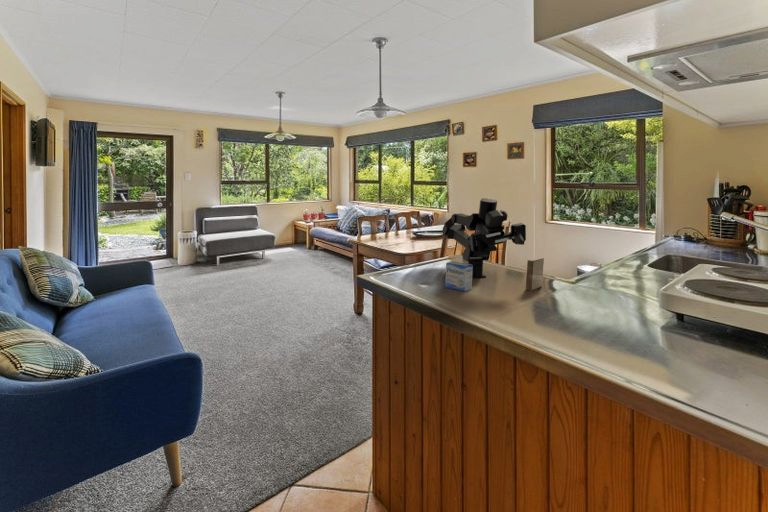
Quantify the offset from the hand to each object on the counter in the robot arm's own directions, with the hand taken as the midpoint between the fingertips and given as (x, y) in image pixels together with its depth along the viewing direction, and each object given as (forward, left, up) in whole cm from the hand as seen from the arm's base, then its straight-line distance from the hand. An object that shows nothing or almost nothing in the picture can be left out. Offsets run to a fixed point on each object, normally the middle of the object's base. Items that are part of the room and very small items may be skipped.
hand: (510, 246), depth 128 cm
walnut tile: (-5, +12, -16) cm, 20 cm away
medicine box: (-9, -13, -16) cm, 22 cm away
